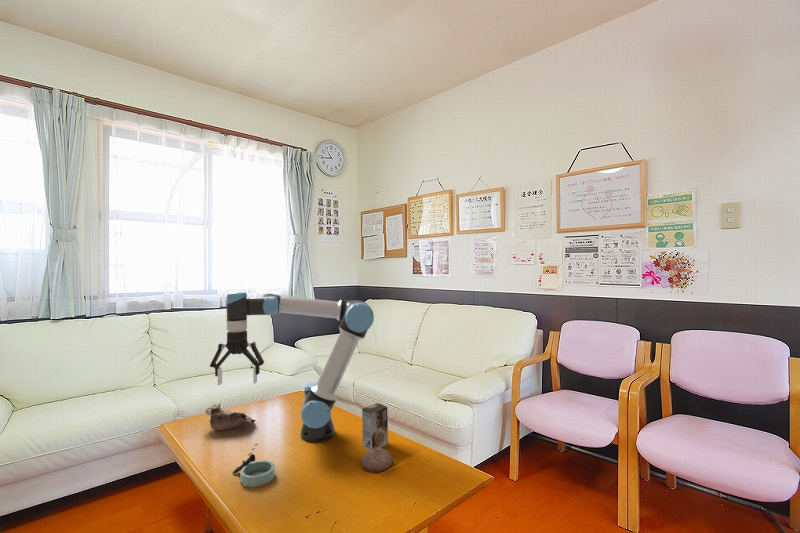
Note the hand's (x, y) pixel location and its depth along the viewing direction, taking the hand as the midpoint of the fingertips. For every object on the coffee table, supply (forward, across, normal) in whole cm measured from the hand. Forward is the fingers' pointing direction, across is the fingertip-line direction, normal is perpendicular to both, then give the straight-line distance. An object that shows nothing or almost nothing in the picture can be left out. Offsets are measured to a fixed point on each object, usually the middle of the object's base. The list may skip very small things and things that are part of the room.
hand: (237, 383), depth 154 cm
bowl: (+29, -12, +19) cm, 36 cm away
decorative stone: (+30, -56, +20) cm, 67 cm away
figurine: (+21, -12, +16) cm, 29 cm away
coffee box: (+29, -55, 0) cm, 62 cm away
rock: (+30, +13, -29) cm, 43 cm away
